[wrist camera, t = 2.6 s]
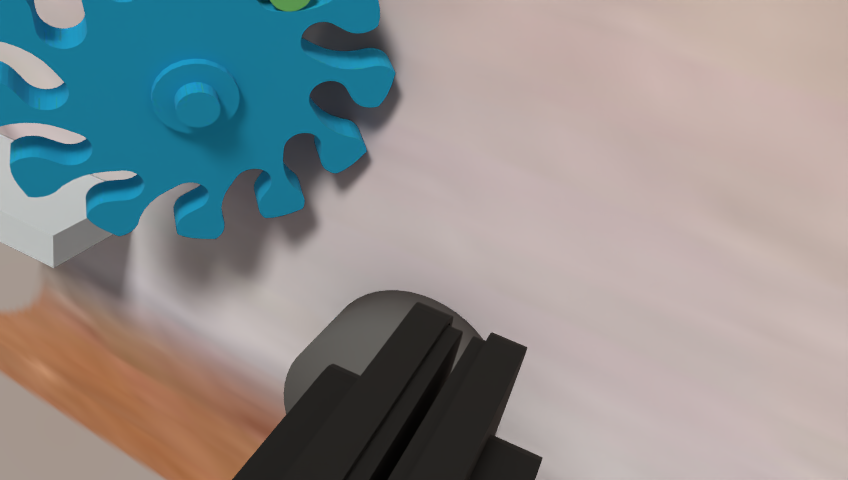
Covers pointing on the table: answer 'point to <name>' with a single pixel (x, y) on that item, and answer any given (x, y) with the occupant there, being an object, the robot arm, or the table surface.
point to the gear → (185, 101)
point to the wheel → (360, 338)
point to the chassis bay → (46, 217)
